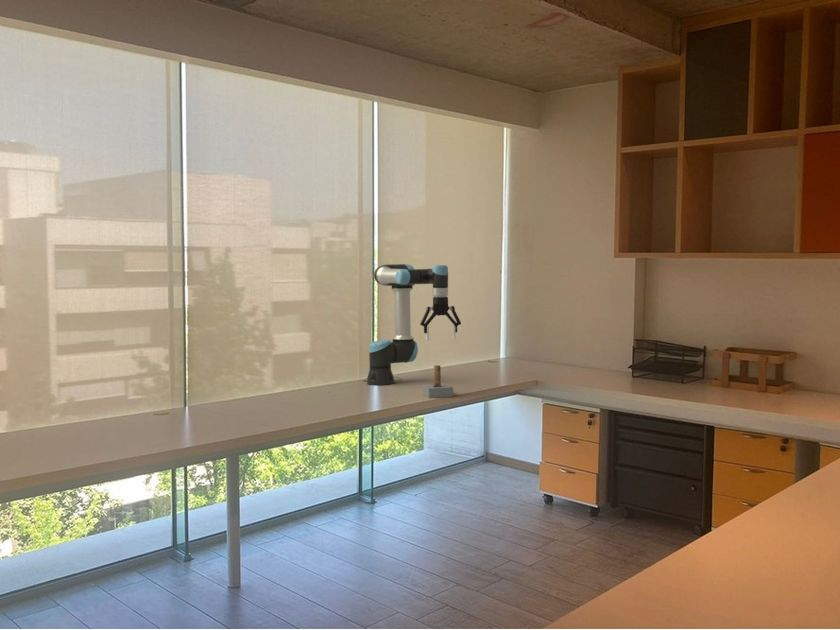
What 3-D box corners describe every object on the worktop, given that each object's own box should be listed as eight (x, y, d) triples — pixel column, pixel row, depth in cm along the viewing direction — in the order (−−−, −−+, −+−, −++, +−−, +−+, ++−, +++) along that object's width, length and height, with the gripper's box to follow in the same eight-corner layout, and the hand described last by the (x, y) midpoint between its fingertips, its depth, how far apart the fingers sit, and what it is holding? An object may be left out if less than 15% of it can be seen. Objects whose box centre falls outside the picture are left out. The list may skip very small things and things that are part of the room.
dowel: (434, 394, 370) (433, 365, 369) (439, 393, 370) (439, 365, 370) (435, 395, 367) (435, 366, 366) (441, 394, 368) (441, 365, 367)
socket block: (422, 394, 373) (422, 385, 373) (446, 392, 376) (445, 383, 376) (429, 397, 361) (428, 388, 361) (453, 396, 364) (453, 387, 364)
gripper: (417, 297, 365) (417, 341, 367) (467, 296, 371) (467, 339, 373) (414, 296, 373) (414, 339, 374) (462, 295, 378) (462, 337, 380)
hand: (440, 339), depth 373 cm, fingers open, 13 cm apart
